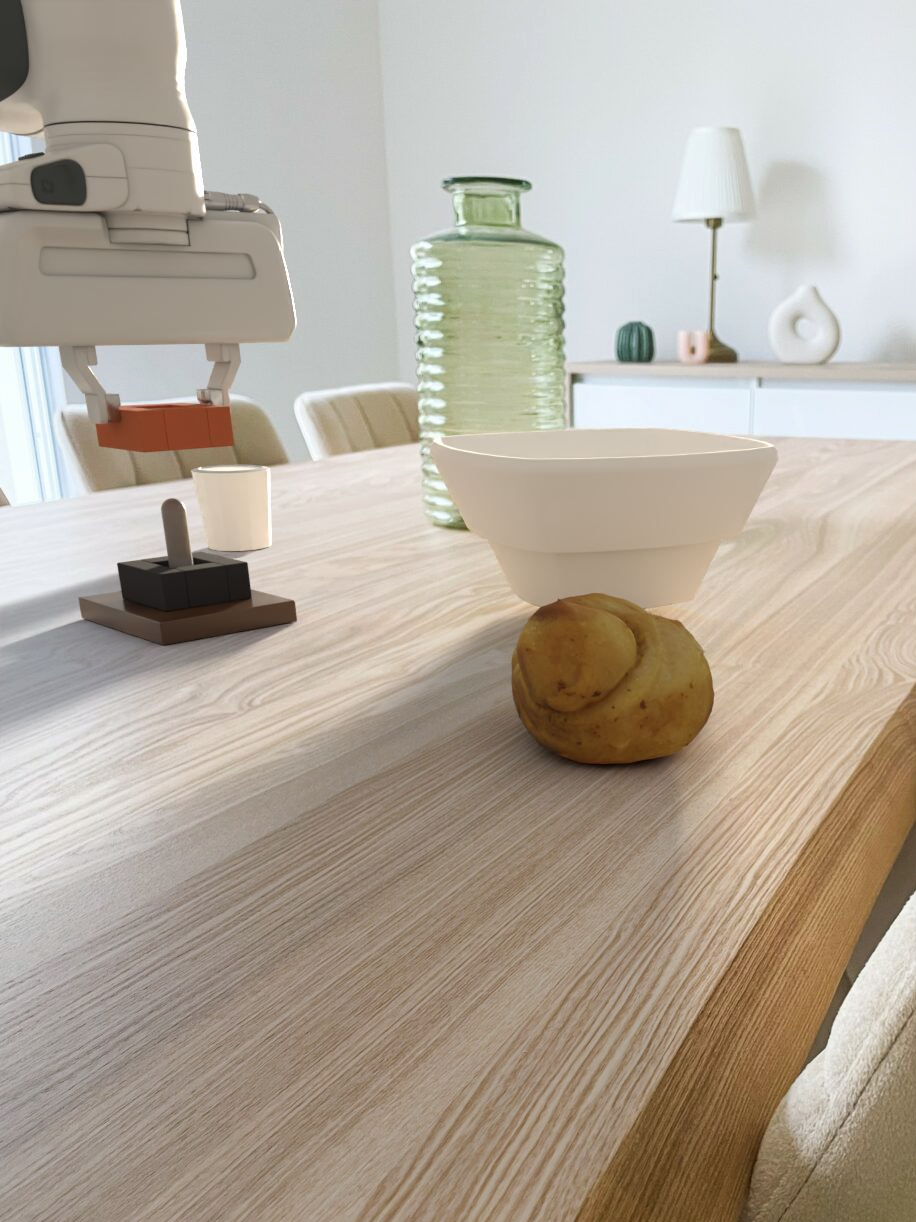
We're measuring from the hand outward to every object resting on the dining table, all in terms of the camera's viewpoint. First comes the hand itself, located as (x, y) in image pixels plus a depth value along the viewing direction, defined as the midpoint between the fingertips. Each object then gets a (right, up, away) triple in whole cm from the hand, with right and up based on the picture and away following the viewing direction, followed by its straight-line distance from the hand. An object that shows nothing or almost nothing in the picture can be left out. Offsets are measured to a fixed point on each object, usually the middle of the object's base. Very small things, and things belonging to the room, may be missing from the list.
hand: (162, 420), depth 86 cm
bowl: (+29, -11, +9) cm, 32 cm away
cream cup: (-6, 0, +34) cm, 35 cm away
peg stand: (0, -12, +5) cm, 13 cm away
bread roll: (+30, -23, -20) cm, 43 cm away
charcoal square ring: (0, -11, +5) cm, 12 cm away
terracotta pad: (0, -2, +1) cm, 2 cm away
